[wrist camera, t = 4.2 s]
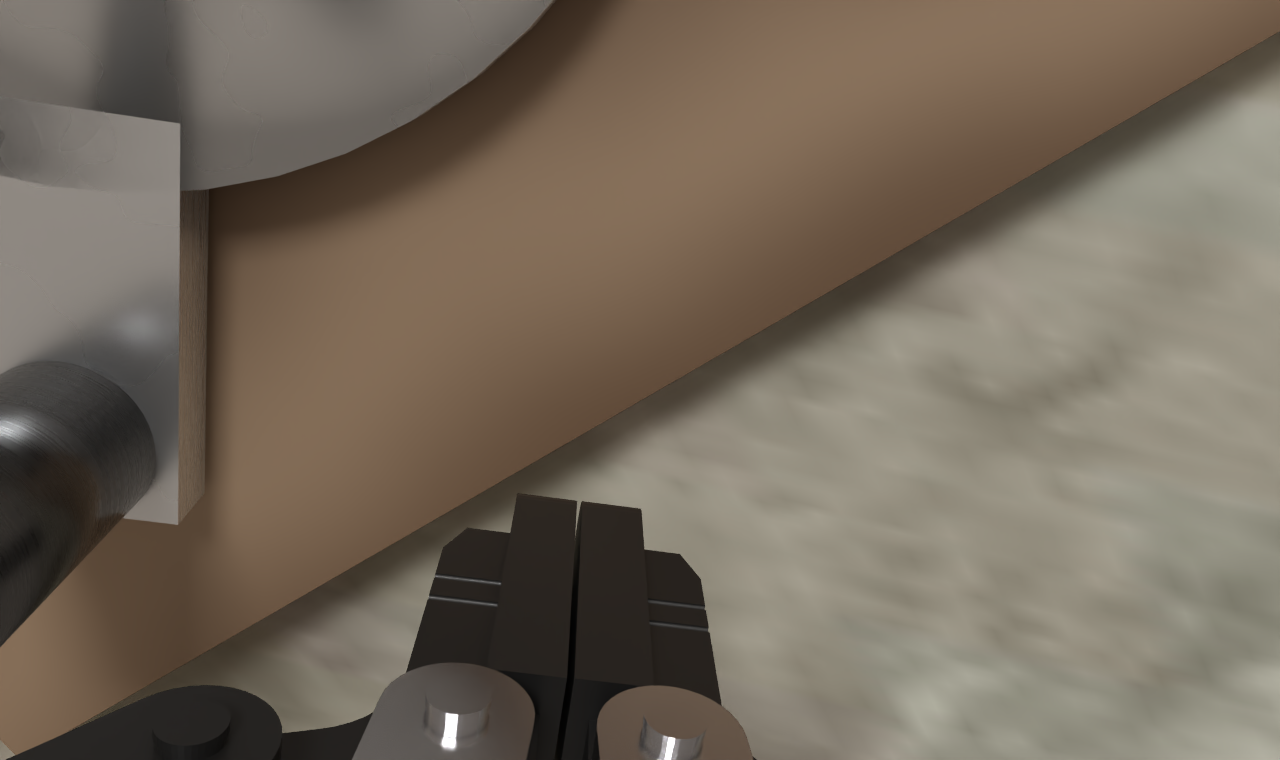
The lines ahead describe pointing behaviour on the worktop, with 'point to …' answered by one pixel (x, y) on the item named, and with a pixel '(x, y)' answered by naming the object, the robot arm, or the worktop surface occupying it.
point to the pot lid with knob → (164, 223)
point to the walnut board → (568, 271)
